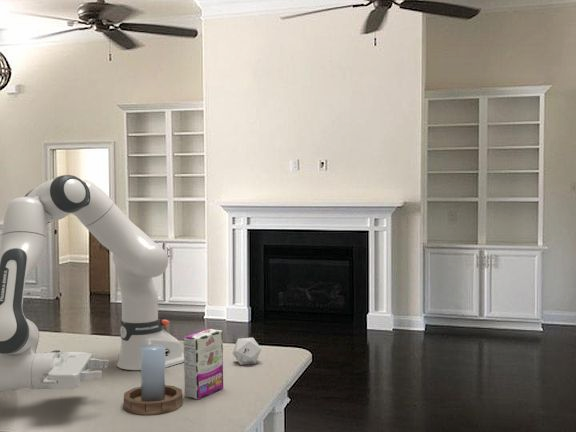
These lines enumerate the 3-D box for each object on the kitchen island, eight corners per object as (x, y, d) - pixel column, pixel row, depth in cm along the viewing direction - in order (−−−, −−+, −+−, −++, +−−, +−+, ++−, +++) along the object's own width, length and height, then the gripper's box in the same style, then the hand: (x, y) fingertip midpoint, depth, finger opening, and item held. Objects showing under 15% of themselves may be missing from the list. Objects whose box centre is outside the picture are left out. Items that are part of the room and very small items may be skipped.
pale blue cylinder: (157, 395, 166) (157, 343, 166) (169, 401, 162) (169, 347, 161) (136, 400, 162) (136, 347, 162) (148, 407, 158) (148, 351, 157)
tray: (163, 391, 173) (163, 381, 172) (193, 405, 162) (193, 394, 161) (113, 403, 163) (113, 393, 162) (142, 419, 152) (142, 407, 152)
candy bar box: (209, 385, 178) (209, 328, 177) (223, 388, 175) (223, 330, 174) (183, 396, 168) (182, 335, 167) (197, 400, 165) (197, 338, 165)
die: (227, 365, 201) (232, 345, 195) (237, 346, 207) (242, 327, 202) (250, 375, 200) (256, 356, 194) (260, 356, 206) (266, 337, 200)
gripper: (37, 370, 148) (97, 368, 150) (57, 348, 168) (110, 346, 170) (37, 396, 148) (98, 394, 150) (57, 371, 168) (110, 370, 170)
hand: (104, 369), depth 160 cm, fingers open, 8 cm apart
